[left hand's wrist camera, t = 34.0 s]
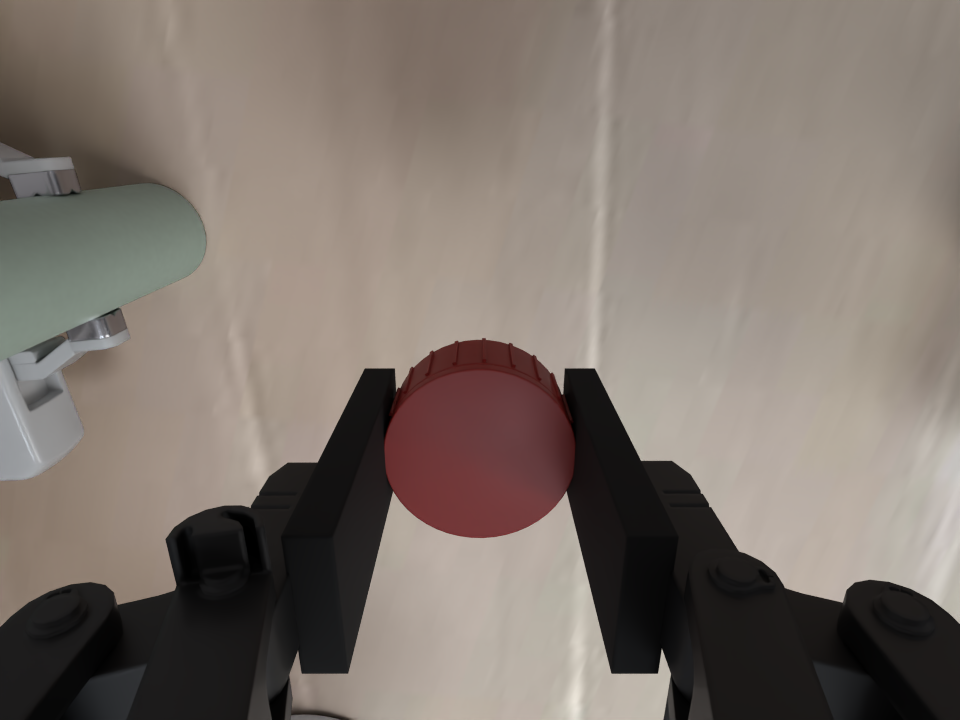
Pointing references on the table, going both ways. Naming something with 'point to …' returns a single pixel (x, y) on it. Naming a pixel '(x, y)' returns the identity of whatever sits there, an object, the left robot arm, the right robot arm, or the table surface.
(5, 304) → the bottle
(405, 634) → the table surface
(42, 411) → the right robot arm
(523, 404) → the cap
